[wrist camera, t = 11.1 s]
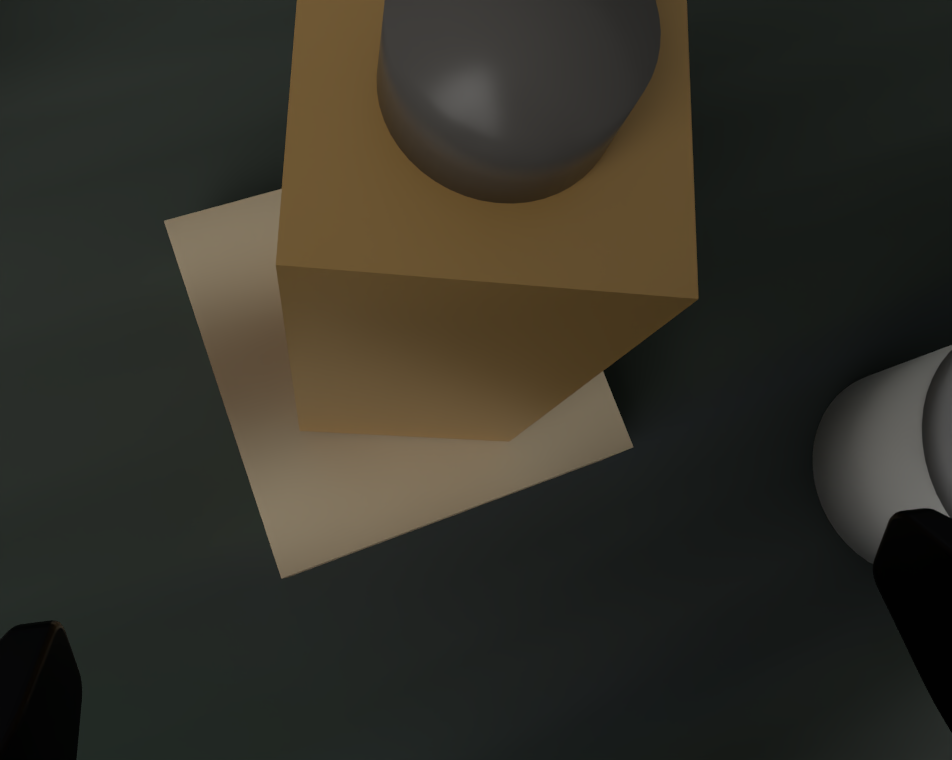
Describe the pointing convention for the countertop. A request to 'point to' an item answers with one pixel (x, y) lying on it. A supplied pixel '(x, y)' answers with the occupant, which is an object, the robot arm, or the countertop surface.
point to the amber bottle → (479, 206)
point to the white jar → (886, 449)
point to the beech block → (342, 454)
